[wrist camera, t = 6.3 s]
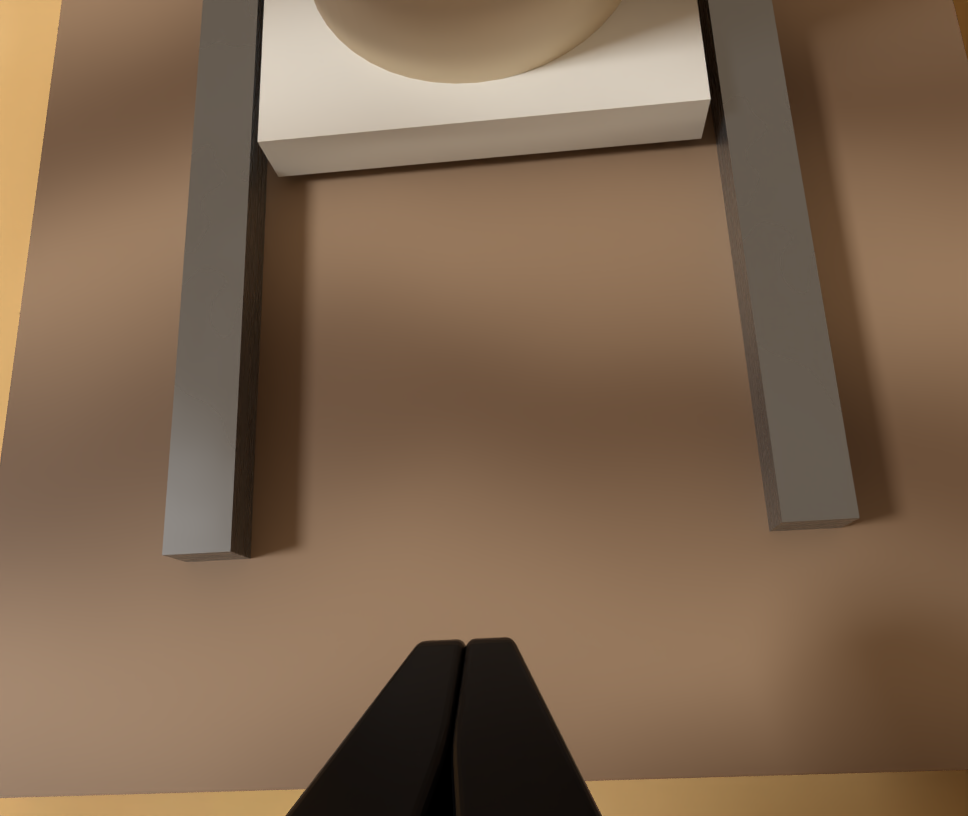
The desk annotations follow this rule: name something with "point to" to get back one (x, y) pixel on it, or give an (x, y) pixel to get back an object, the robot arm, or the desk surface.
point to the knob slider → (474, 79)
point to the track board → (491, 438)
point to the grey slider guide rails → (754, 249)
